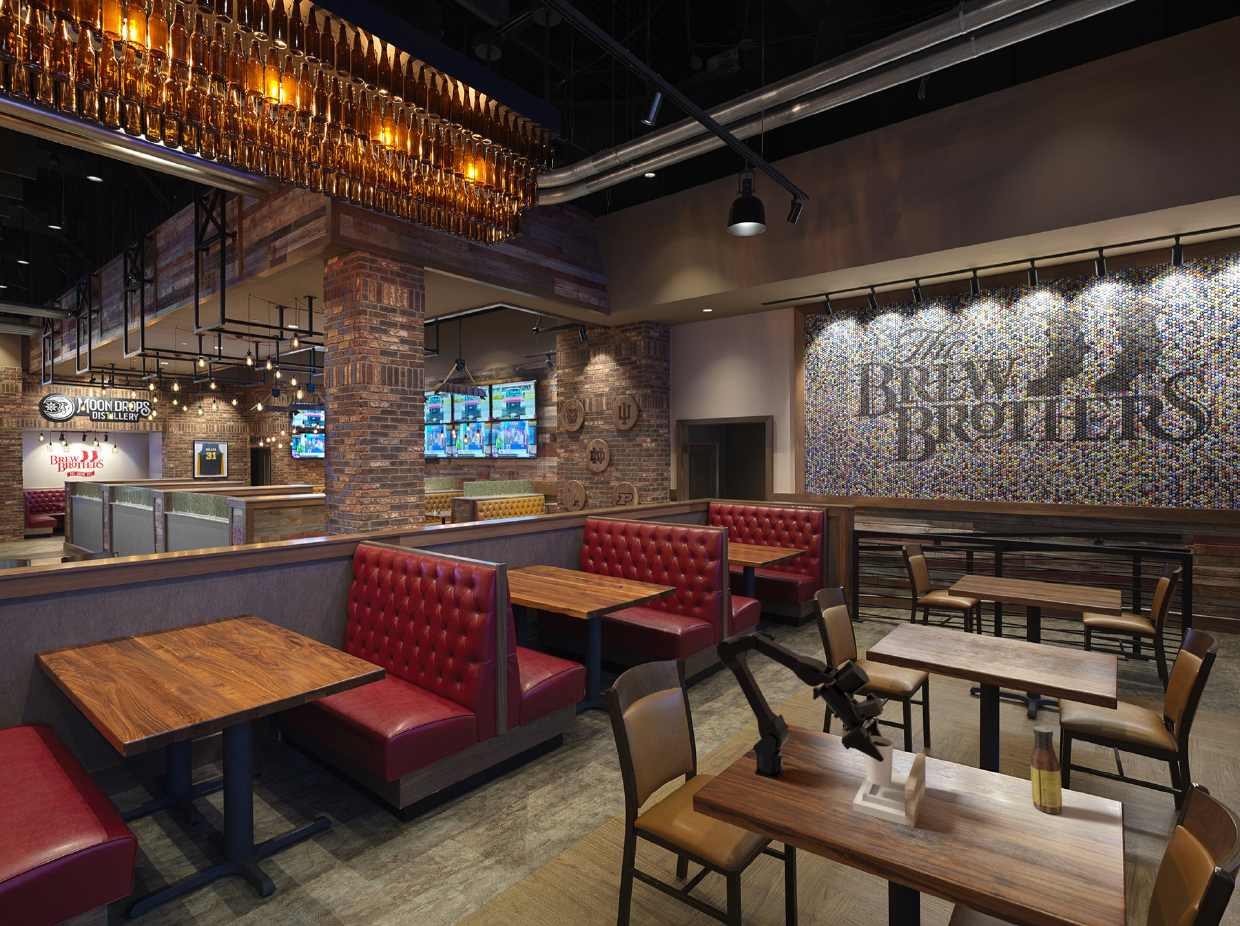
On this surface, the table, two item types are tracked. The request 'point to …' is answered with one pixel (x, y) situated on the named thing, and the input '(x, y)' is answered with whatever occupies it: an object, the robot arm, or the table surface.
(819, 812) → the table surface
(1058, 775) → the sauce bottle
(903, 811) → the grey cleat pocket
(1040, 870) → the table surface
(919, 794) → the ash wall board
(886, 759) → the white coffee cup
